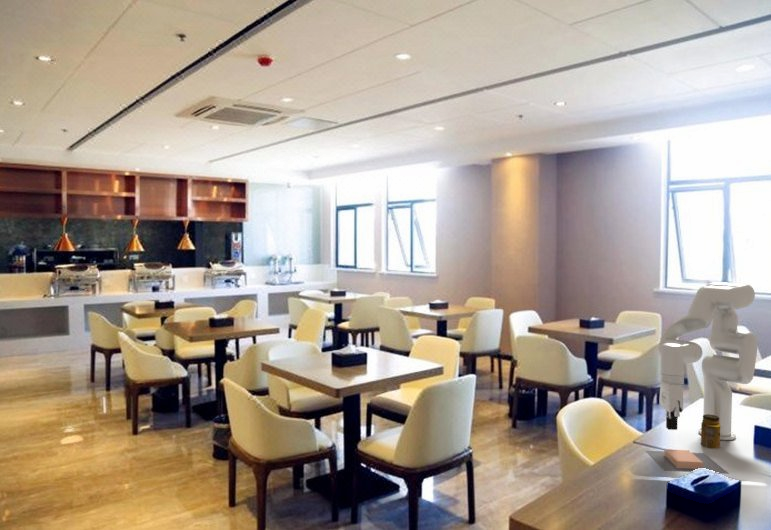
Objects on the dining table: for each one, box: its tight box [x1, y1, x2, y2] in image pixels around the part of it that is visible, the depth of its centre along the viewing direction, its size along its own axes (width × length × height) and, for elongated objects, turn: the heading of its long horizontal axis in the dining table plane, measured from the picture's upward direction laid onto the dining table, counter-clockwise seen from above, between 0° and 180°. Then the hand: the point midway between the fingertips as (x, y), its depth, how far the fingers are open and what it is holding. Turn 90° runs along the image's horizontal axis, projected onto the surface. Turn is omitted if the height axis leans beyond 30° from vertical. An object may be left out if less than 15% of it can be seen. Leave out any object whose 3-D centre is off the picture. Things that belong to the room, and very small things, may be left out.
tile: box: [663, 448, 703, 469], centre depth 189 cm, size 2×8×11 cm
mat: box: [645, 450, 730, 475], centre depth 190 cm, size 18×20×1 cm
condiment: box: [700, 414, 721, 449], centre depth 205 cm, size 7×8×12 cm
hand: (671, 428), depth 200 cm, fingers closed
